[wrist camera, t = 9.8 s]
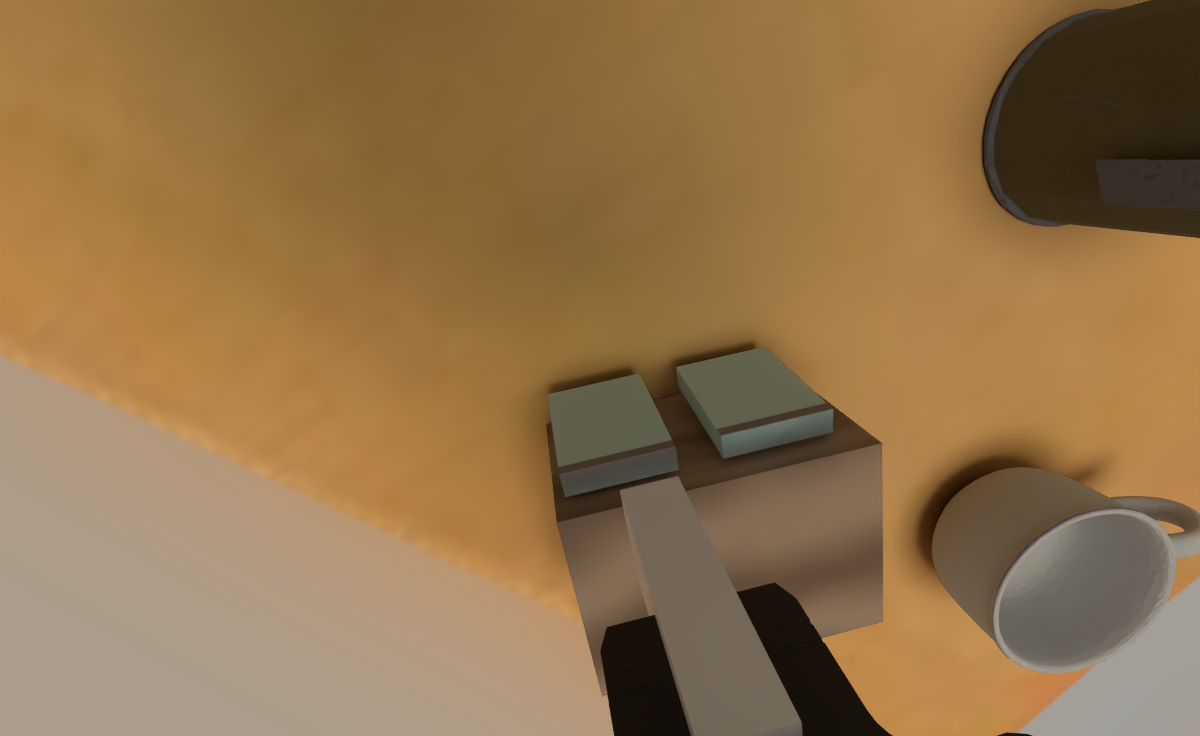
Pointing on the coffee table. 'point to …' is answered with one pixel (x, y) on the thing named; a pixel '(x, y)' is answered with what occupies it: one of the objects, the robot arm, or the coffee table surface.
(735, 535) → the block
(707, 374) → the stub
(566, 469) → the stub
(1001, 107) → the canister
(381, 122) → the coffee table surface
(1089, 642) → the teacup
